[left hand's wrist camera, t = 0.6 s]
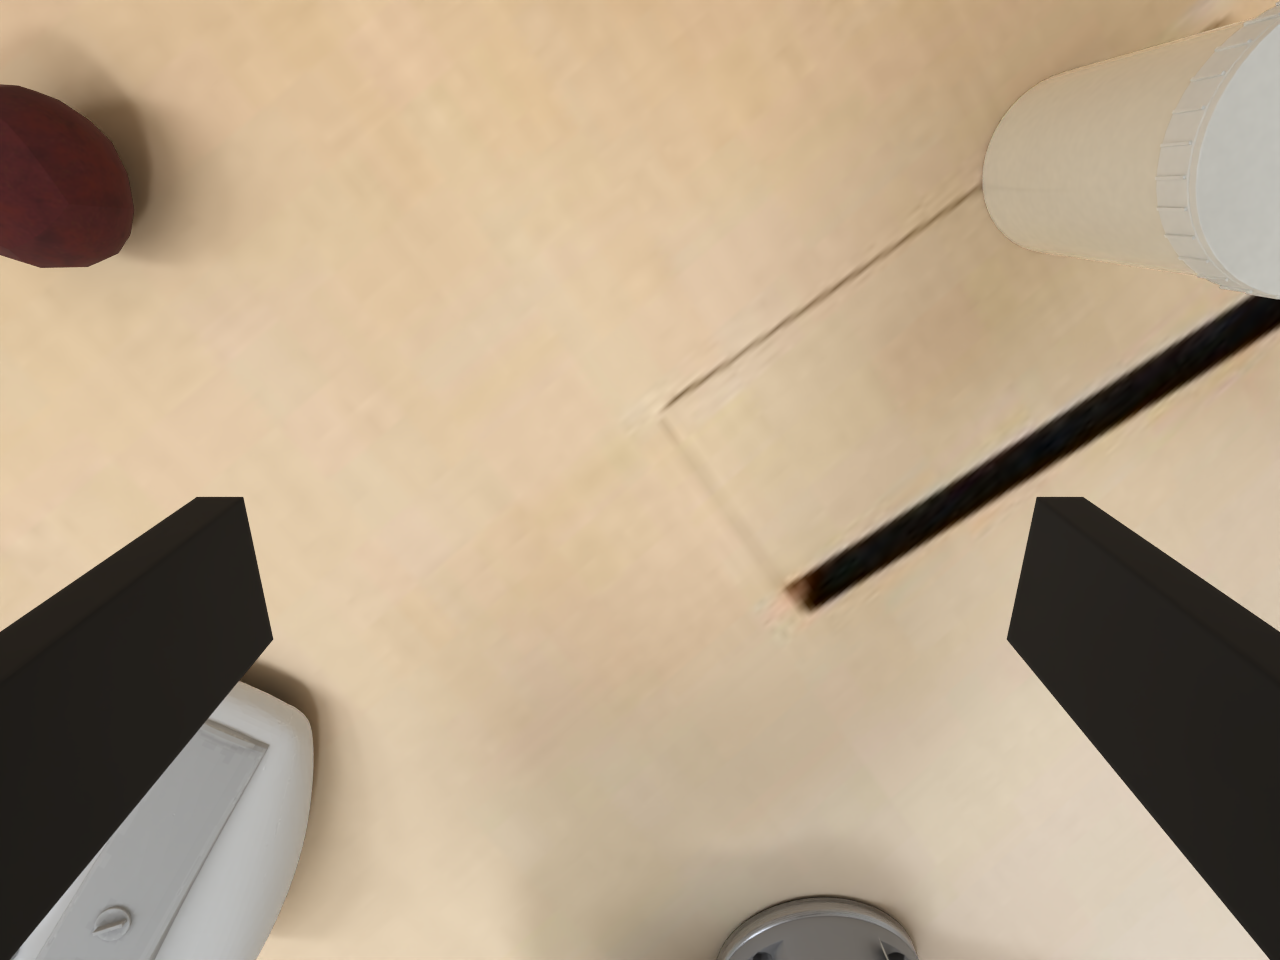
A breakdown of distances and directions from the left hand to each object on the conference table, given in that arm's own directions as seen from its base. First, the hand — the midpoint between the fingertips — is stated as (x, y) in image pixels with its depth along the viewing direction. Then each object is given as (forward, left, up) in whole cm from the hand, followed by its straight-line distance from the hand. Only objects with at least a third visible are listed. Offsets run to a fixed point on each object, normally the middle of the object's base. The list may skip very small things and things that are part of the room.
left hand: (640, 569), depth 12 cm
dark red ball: (+6, +27, -28) cm, 39 cm away
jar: (+7, -21, -28) cm, 36 cm away
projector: (-32, +30, -28) cm, 52 cm away
